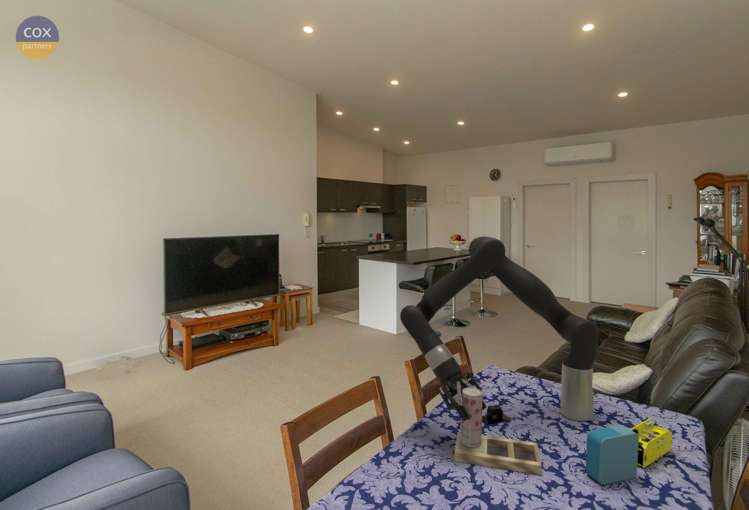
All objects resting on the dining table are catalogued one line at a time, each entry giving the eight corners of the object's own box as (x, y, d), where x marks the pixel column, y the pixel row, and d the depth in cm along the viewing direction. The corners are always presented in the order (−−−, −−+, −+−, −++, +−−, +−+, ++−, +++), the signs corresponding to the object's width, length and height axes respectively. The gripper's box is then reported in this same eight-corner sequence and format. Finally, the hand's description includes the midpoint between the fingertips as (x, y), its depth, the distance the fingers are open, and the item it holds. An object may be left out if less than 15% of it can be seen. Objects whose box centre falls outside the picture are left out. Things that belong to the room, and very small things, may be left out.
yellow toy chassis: (649, 443, 116) (651, 415, 115) (672, 452, 111) (673, 424, 111) (621, 460, 108) (623, 431, 107) (644, 471, 103) (646, 440, 102)
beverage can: (485, 447, 109) (486, 394, 108) (465, 449, 108) (467, 396, 107) (475, 436, 115) (476, 386, 113) (457, 438, 113) (458, 387, 112)
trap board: (536, 451, 112) (536, 442, 111) (541, 475, 101) (541, 465, 101) (457, 439, 118) (457, 431, 118) (454, 461, 107) (454, 451, 107)
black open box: (504, 412, 135) (504, 400, 135) (517, 423, 128) (518, 409, 128) (472, 418, 132) (472, 404, 132) (484, 429, 125) (484, 415, 125)
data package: (621, 467, 104) (623, 423, 104) (637, 477, 100) (639, 432, 99) (584, 475, 101) (586, 430, 100) (599, 486, 97) (601, 439, 96)
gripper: (435, 363, 110) (470, 417, 102) (464, 351, 120) (498, 400, 112) (420, 376, 114) (452, 429, 107) (449, 363, 124) (481, 411, 116)
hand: (476, 414), depth 109 cm, fingers open, 8 cm apart
